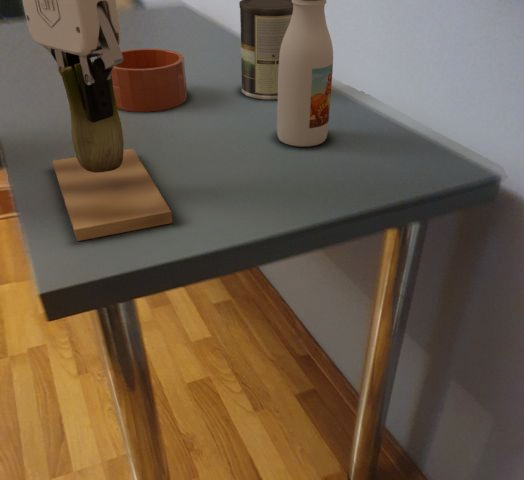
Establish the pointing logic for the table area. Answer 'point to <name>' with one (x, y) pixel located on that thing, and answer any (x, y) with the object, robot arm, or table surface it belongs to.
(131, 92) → the pot
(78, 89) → the fennel bulb
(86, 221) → the board
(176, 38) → the table surface
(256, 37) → the coffee can
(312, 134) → the milk bottle
